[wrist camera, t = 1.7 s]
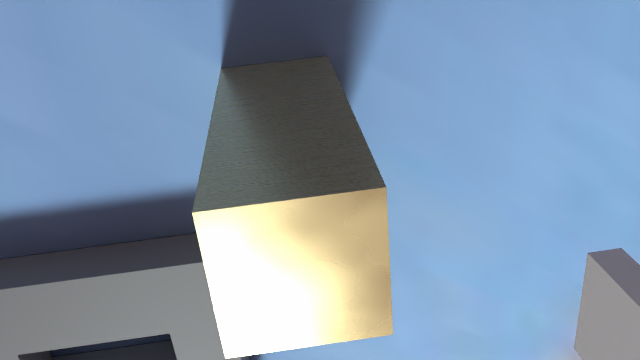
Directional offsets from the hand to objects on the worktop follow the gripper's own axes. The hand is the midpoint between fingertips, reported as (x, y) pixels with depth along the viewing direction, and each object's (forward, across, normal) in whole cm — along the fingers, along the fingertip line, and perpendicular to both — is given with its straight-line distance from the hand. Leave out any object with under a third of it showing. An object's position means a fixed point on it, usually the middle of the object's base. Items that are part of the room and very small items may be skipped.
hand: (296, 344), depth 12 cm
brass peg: (+14, 0, 0) cm, 14 cm away
